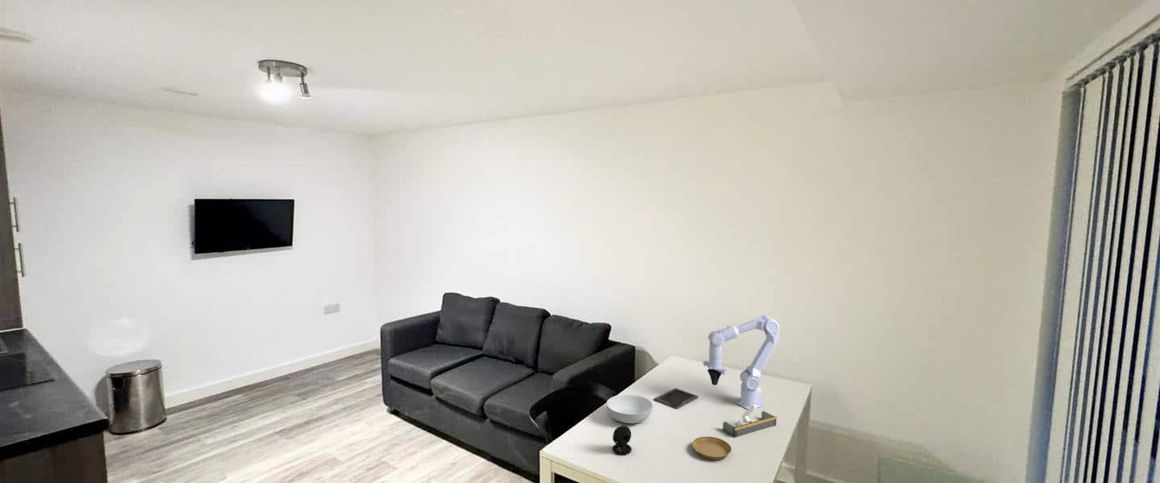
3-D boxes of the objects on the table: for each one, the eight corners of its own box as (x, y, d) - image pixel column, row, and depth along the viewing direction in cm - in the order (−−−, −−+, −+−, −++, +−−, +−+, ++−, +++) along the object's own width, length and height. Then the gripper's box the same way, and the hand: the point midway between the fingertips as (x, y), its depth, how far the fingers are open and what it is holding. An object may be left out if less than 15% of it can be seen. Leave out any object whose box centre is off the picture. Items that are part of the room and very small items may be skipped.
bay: (763, 418, 208) (764, 410, 207) (776, 425, 201) (777, 416, 201) (722, 430, 197) (723, 421, 197) (735, 438, 191) (735, 428, 190)
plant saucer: (725, 467, 170) (725, 460, 170) (686, 455, 178) (686, 449, 178) (735, 449, 183) (735, 442, 182) (698, 438, 191) (699, 432, 190)
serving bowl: (658, 412, 214) (658, 398, 213) (644, 433, 195) (644, 417, 194) (615, 404, 222) (615, 390, 222) (599, 423, 203) (599, 408, 203)
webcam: (617, 457, 176) (617, 432, 175) (608, 448, 183) (608, 423, 182) (635, 453, 179) (635, 428, 179) (626, 443, 186) (626, 420, 185)
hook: (770, 419, 196) (758, 411, 195) (751, 438, 199) (739, 431, 197) (762, 407, 203) (751, 400, 202) (744, 426, 206) (733, 419, 204)
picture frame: (677, 410, 217) (697, 398, 230) (677, 406, 217) (698, 395, 229) (654, 401, 227) (675, 390, 239) (654, 397, 226) (675, 387, 239)
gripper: (698, 353, 225) (698, 380, 226) (719, 362, 212) (718, 391, 213) (709, 351, 228) (709, 378, 229) (731, 360, 215) (730, 388, 216)
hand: (714, 384), depth 221 cm, fingers closed
